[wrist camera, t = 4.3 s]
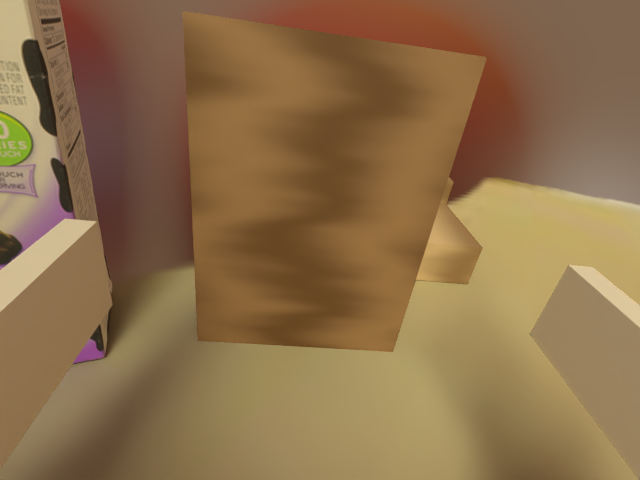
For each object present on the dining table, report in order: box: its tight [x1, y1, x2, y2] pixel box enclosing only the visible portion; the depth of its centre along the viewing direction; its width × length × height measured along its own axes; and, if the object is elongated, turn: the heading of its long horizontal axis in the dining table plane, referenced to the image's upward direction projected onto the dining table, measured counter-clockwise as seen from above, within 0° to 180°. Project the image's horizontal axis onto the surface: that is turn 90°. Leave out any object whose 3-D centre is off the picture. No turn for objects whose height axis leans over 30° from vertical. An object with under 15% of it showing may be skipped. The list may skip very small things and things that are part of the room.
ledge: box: [416, 178, 482, 284], centre depth 27 cm, size 14×8×5 cm, turn 93°
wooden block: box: [183, 11, 487, 352], centre depth 17 cm, size 10×4×14 cm, turn 93°
